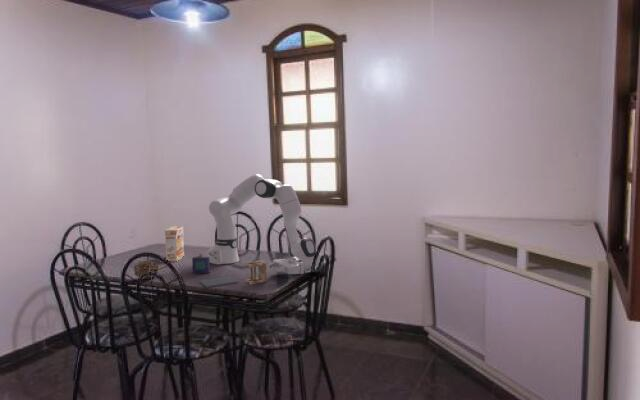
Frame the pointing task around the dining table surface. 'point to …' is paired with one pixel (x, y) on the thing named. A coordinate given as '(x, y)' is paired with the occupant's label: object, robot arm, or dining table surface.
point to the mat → (218, 281)
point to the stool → (261, 272)
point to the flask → (200, 264)
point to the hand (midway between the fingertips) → (272, 268)
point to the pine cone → (146, 268)
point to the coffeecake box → (174, 243)
